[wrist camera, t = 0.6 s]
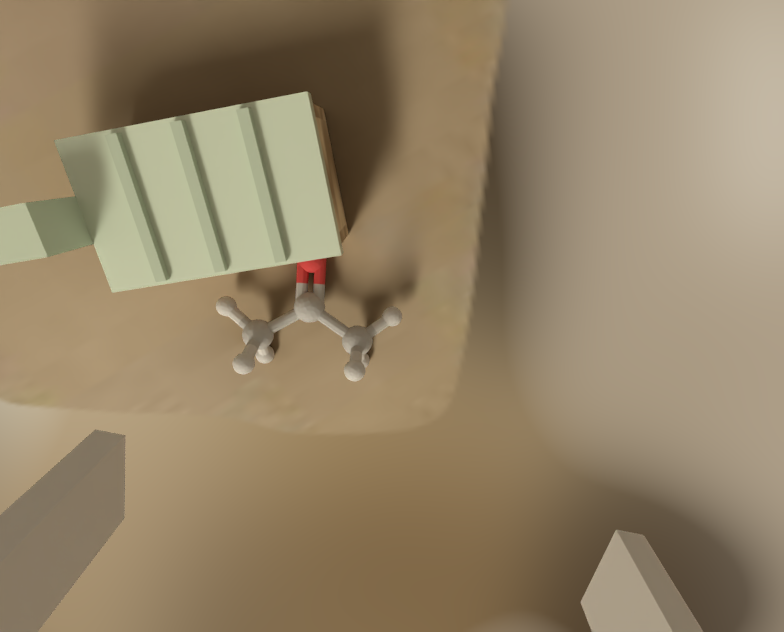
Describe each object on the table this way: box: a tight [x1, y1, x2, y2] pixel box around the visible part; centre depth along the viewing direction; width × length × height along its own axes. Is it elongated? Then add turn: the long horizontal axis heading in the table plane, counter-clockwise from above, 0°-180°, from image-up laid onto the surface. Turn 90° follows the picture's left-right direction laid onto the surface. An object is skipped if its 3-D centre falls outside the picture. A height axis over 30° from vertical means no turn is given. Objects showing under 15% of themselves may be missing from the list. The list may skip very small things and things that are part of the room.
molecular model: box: [216, 258, 402, 381], centre depth 36 cm, size 14×8×10 cm
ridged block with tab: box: [0, 91, 343, 293], centre depth 27 cm, size 10×22×5 cm, turn 100°
